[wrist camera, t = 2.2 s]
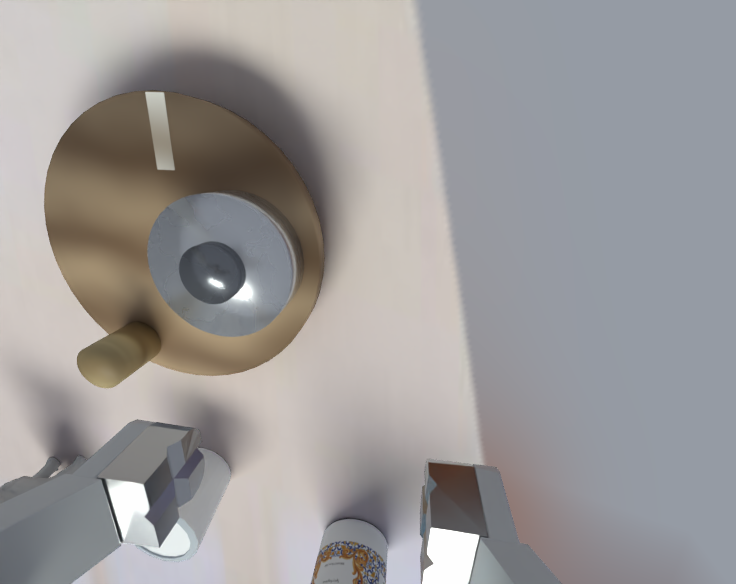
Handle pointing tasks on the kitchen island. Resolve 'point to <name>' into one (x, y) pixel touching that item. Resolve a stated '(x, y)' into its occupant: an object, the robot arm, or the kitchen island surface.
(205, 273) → the cover
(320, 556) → the bath foam
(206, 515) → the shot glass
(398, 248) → the kitchen island surface
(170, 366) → the turntable
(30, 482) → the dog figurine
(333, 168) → the kitchen island surface
